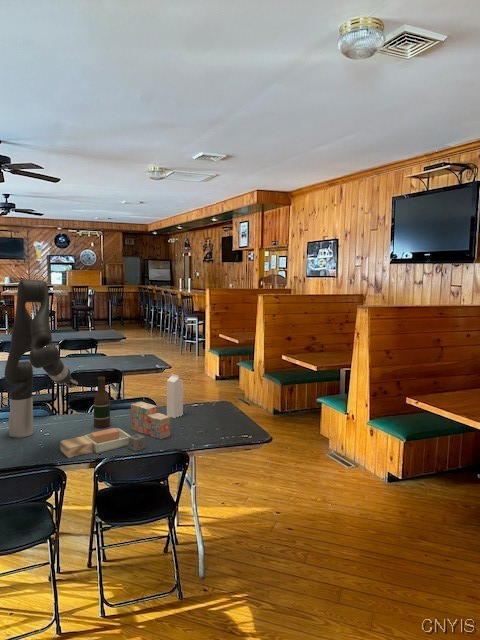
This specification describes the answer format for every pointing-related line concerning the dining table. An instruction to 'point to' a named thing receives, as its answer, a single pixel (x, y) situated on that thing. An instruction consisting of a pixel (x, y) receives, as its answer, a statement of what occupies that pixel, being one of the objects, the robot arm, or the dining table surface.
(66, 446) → the cream wooden slab
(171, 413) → the milk
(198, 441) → the dining table surface
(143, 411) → the stack of blocks
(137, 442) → the dice cube
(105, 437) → the terracotta block
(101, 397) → the beer bottle
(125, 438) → the tray
